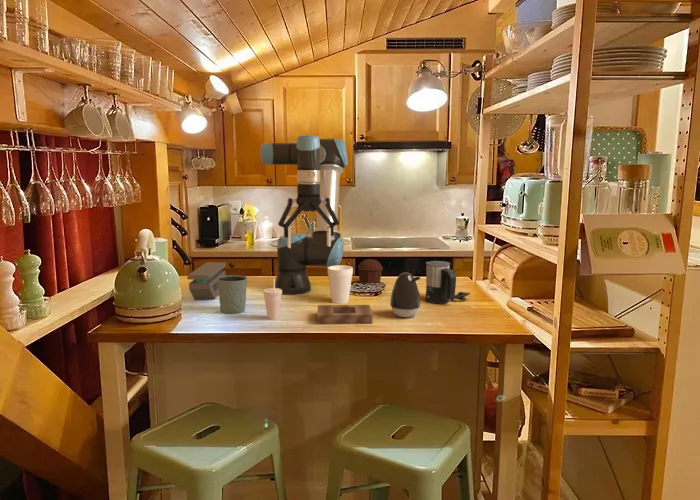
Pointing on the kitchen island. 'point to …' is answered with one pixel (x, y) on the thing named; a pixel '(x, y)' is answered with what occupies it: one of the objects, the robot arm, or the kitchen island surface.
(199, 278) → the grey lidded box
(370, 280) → the muffin
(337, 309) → the bottle holder
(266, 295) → the smoothie
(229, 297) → the embossed green cup
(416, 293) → the pump dispenser
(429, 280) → the milk frother
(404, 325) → the kitchen island surface
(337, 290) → the foam cup
